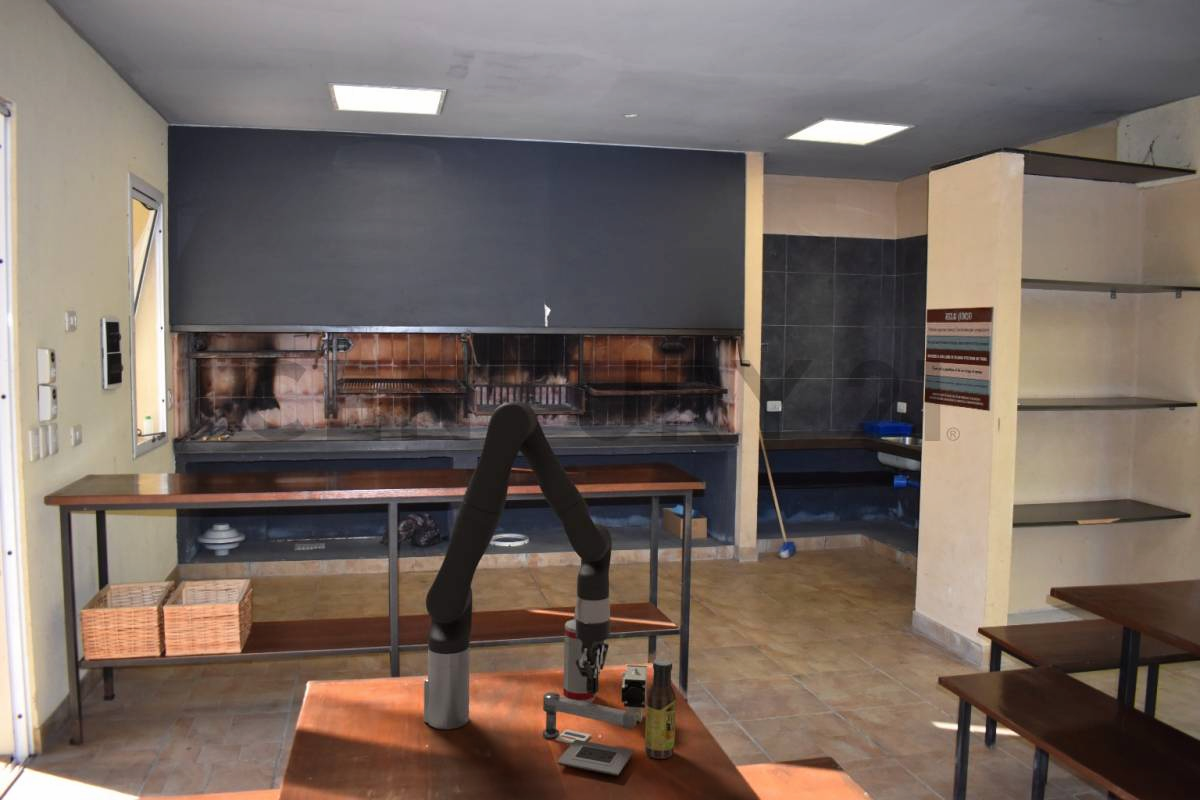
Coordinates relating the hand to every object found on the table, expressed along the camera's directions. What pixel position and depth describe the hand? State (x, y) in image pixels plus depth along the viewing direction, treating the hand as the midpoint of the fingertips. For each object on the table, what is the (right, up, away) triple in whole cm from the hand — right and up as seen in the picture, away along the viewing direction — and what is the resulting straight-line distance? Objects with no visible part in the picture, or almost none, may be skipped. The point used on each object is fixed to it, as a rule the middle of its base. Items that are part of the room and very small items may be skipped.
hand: (592, 692), depth 198 cm
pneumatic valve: (+9, -9, +8) cm, 15 cm away
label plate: (-4, -9, -3) cm, 10 cm away
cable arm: (-1, -4, -6) cm, 7 cm away
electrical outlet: (+1, -11, -13) cm, 17 cm away
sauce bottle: (+14, -10, -9) cm, 20 cm away
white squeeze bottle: (-3, -8, +19) cm, 21 cm away
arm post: (-9, -9, -2) cm, 13 cm away
